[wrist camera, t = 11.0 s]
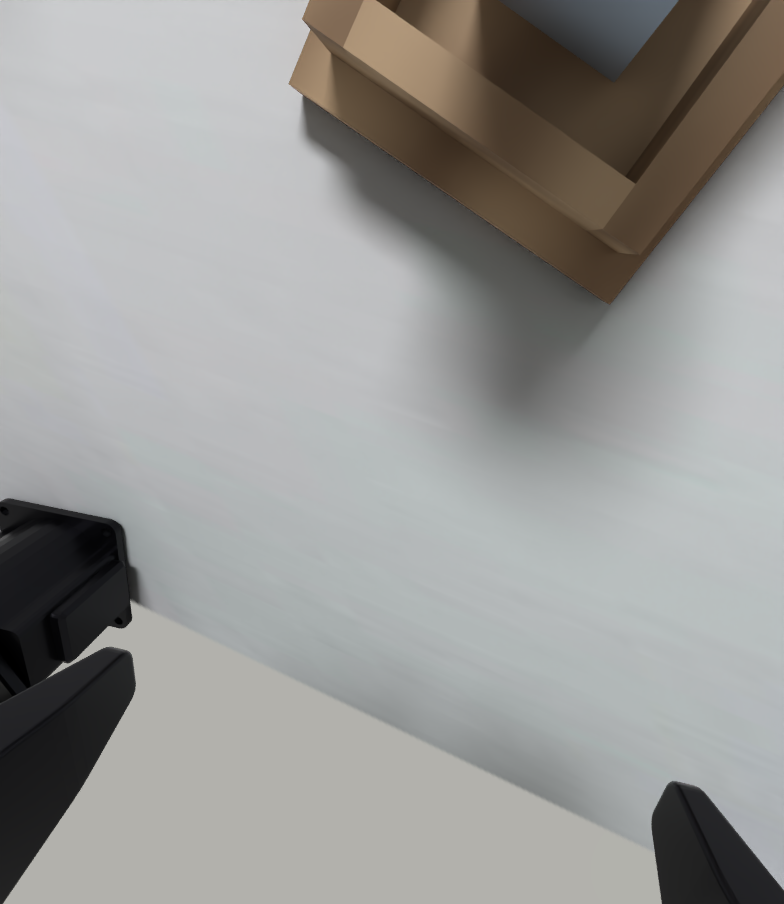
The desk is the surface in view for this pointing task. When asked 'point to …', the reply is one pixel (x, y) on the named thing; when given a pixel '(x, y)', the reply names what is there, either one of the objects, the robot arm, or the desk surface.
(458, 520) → the desk surface
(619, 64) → the box
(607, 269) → the tray
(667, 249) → the desk surface
